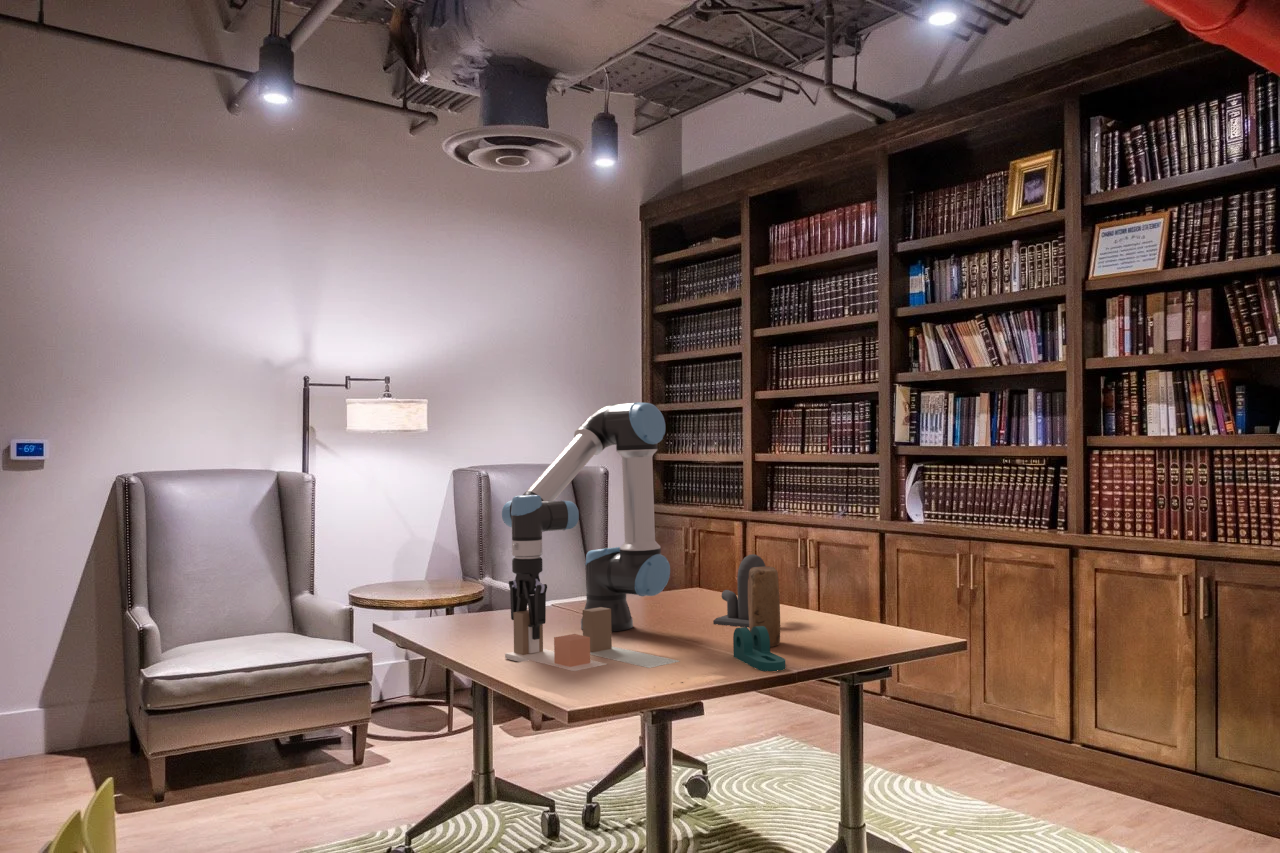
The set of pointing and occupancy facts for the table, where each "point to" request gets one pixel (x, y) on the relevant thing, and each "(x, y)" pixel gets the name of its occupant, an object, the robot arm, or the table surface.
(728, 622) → the faucet
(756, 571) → the block
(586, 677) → the table surface
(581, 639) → the cube
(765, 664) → the bracket
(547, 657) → the cube strip
